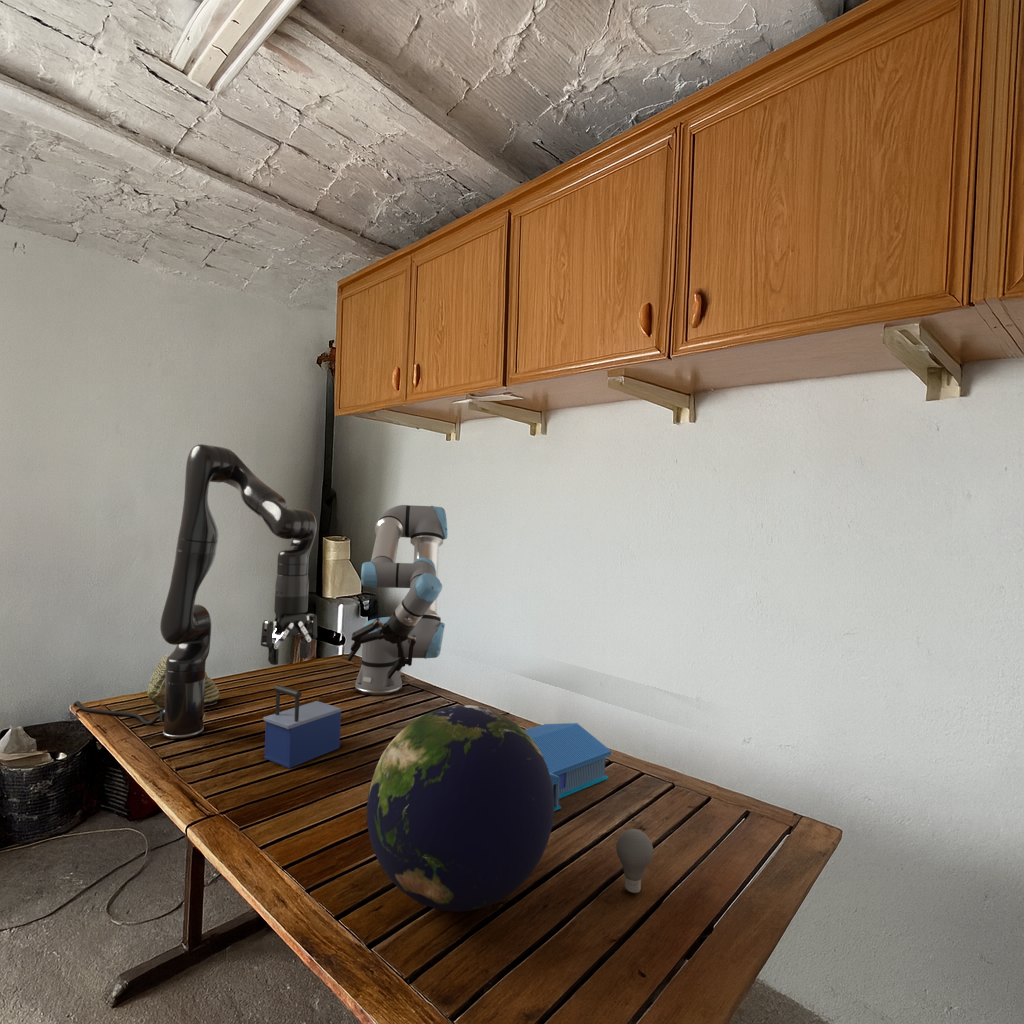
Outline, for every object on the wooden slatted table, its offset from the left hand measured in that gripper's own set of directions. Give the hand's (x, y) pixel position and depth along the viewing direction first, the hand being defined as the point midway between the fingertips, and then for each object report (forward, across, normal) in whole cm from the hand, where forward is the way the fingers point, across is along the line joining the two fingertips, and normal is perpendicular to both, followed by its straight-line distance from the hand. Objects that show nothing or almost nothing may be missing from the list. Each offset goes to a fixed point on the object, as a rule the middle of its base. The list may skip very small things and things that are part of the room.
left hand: (289, 660), depth 151 cm
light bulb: (+24, +2, -87) cm, 90 cm away
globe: (+24, -17, -64) cm, 71 cm away
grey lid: (+14, +5, 0) cm, 15 cm away
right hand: (+12, +41, +14) cm, 45 cm away
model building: (+24, +22, -52) cm, 62 cm away
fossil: (+24, +6, +54) cm, 59 cm away
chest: (+24, +5, 0) cm, 24 cm away
